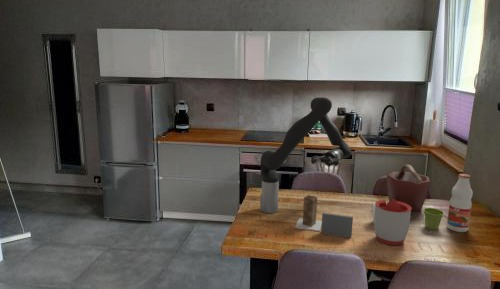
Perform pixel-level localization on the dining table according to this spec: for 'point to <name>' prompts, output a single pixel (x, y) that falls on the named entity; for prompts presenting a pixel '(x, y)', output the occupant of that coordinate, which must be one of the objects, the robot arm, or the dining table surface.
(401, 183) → the bucket
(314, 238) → the dining table surface
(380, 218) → the citrus juicer
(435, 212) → the plant pot
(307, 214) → the walnut block
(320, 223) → the grey pad
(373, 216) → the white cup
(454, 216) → the fruit juice
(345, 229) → the charcoal board
